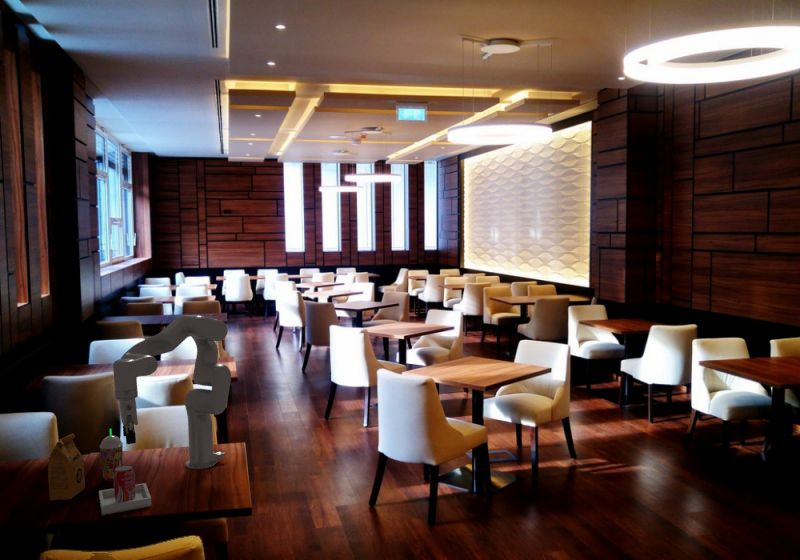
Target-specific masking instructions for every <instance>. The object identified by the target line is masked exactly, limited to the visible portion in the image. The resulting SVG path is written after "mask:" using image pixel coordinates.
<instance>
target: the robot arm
mask: <svg viewBox="0 0 800 560" xmlns="http://www.w3.org/2000/svg"><path fill="white" fill-rule="evenodd" d="M228 330H229V328H228V326H227V324H226V323H225V322H224V321H223V320H220V319H215V318H212V317H208V316H203V315H196V314H192V315H191V314H181V315H179V316H177V317H176V318H175V319H174V320H172V322H170V323H169V324H168V325H167V326H166V327H165V328H163V330H161V331H160V332H159V333H157V334H155V335H152V336H150V337H148V338H146V339H144V340H141V341H139V342H138V343H136V344H134V345H132V346H131V347H130V348H128V350H126V352H124V353H123V354H122V356H121V357H120V359H117V360H115V361H114V362H113V364H112V368H113V369H112V370H113V383H114V395H115V396H114V397H115V400H117V401H119V403H118V404H119V415H120V420H121V423H122V433H123V437H125V442H126V443H125V444H126V445H132V444H136V443H137V437H136V436H137V435H136V429H135V425H136V426H138V424H139V422H138V421H139V420H138V411H137V402H136V401H137V400H136V398H138V396H139V394H138V390H139V389H138V381H137V380H138V378H139V377H146V376H151V375H152V374H155V372H156V370H157V369H158V366H159V365H158V363H159V362H158V360H157V358H155V357H154V356H158V355H164V354H167V353H171V352H173V351H174V350H175V349H177V347H179V346H180V345H181V344H182V343H183V342H184V341H185V340H186V339H187V338H189V337H191V338H192V339H193V341H194V343H195V345H196V358H195V362H194V363H195V364H194V369H193V375H192V376H193V378H192V379H193V382H194V383H195V384H196V385H199V386H204V387H211V389H205V388H192V389H190V390H189V391H187V393H186V394H185V396H184V406H185V410H186V415H187V426H188V428H187V431H188V433H187V434H188V455H189V457H188V460H187V461H186V462H185V467H186V468H187V469H190V470H205V469H209V467H210V468H212V466H213V467H215V466H216V465H217V464H218V459H220V458H221V459H222V458H226V452H221V451H218V452H215V451H214V439H213V438H214V437H213V420H212V417H211V415H221V414H222V413H223V412H224V411H225V409H226V407H227V405H228V404H227V403H228V399H229V393H230V387H231V381H232V373H231V370H230V368H229V367H228V366H227V365H226V364H223V363H218V356H219V348H218V345H217V343H216V342H221V341H223V340H225V339H226V337H227V335H228ZM216 463H217V464H216ZM215 464H216V465H215ZM214 465H215V466H214Z"/></svg>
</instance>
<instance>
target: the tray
mask: <svg viewBox="0 0 800 560" xmlns="http://www.w3.org/2000/svg"><path fill="white" fill-rule="evenodd" d="M98 500H100V501H99V505H100V510H101V516H107V515H112V514H116V513H117V514H118V513H121V512H122V513H123V512H128V511H133V510H139V509H143V508H149V507H152V496H151V494H150V491H149V489H148V485H147V483H146V482H145V483H144V482H142V483H137V484H136V483H135V498H134V499H133V500H131V501H125V502H120V503H118V502H117V501H115V496H114V487H113V488H108V489H102V490H98ZM106 514H107V515H106Z"/></svg>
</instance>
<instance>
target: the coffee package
mask: <svg viewBox="0 0 800 560" xmlns="http://www.w3.org/2000/svg"><path fill="white" fill-rule="evenodd" d="M75 438H76V436H75V434H74V433H70V434H68V435H66V436H64V437H63V438H60V439H59V440H58V441H57V442H56V443H55V446H54V447H53V449H52V451H51V453H50V455H49V458H48V465H47V466H48V467H47V471H48V472H47V478H48V490H49V491H48V492H49V501H52V502H53V501H59V500H60V501H61V500H64V501H67V500H72V499H73V498H74V497H75V496H76V495H78V494H80V493H81V492H82V491H83V490H85V486H86V482H85V480H86V479H85V462H84V459H83V456H82V455H83V454H81V452H80V451H79V449H78V448H77V447H76V444H75V442H74V440H73V439H75Z"/></svg>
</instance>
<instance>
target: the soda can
mask: <svg viewBox="0 0 800 560" xmlns="http://www.w3.org/2000/svg"><path fill="white" fill-rule="evenodd" d="M135 475H136V474H135V469H133V465H131V464H124V465H123V464H122V466H118V467H116V468H115V472H114V481H113V488H114V496H115V501H117V502H118V503H120V502H125V501H131V500H133V499H134V498H135V485H136V476H135Z"/></svg>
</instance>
